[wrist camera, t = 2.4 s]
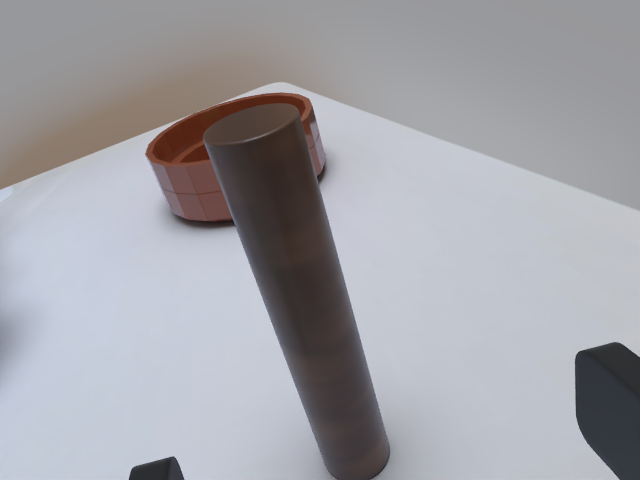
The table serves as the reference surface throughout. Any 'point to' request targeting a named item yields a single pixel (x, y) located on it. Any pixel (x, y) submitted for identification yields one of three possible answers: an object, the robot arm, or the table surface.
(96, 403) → the table surface
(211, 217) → the bowl
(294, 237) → the stick
